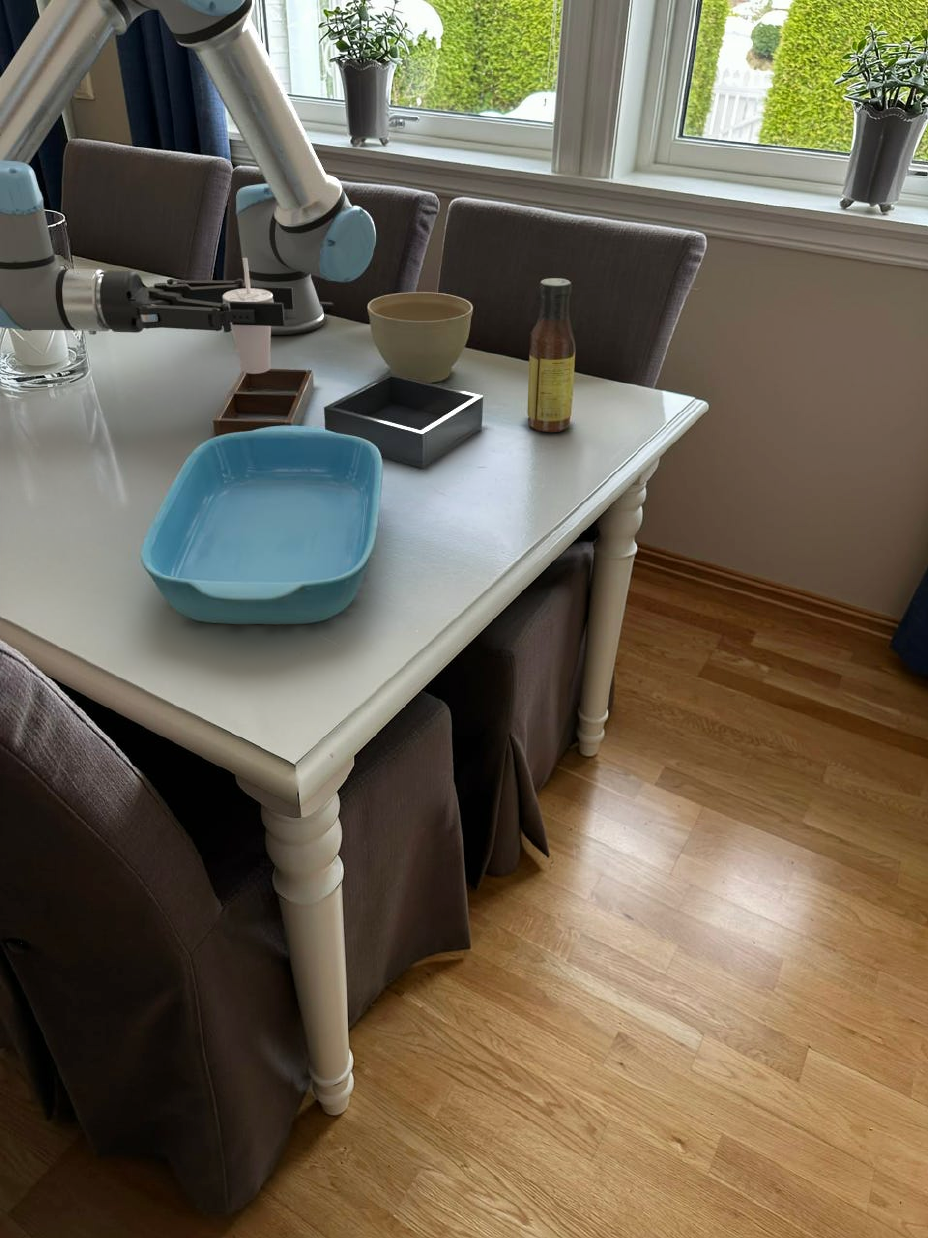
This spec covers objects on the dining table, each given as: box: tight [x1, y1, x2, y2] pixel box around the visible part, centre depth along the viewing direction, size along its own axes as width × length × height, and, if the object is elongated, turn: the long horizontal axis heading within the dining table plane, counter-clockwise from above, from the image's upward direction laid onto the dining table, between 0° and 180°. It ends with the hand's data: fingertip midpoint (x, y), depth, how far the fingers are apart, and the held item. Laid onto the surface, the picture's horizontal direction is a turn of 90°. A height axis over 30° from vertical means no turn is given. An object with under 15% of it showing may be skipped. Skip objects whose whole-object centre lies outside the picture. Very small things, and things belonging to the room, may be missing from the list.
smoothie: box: [223, 258, 274, 374], centre depth 117 cm, size 6×6×14 cm
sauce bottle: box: [526, 277, 576, 433], centre depth 123 cm, size 7×6×20 cm
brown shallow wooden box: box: [212, 368, 315, 437], centre depth 128 cm, size 20×10×3 cm, turn 0°
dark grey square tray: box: [323, 372, 484, 470], centre depth 123 cm, size 16×16×5 cm
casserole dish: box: [140, 425, 384, 625], centre depth 96 cm, size 37×22×7 cm, turn 2°
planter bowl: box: [367, 291, 474, 384], centre depth 141 cm, size 16×16×11 cm
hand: (287, 306), depth 116 cm, fingers closed on smoothie, 6 cm apart
